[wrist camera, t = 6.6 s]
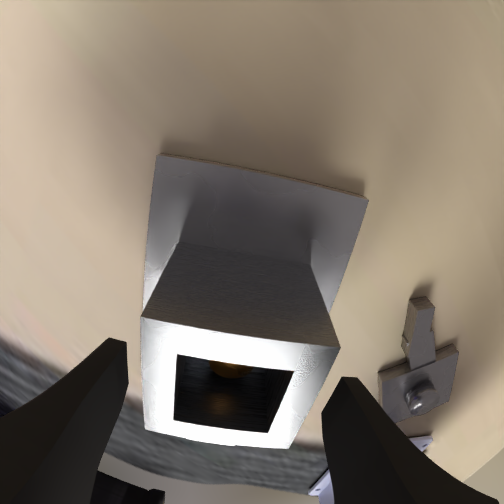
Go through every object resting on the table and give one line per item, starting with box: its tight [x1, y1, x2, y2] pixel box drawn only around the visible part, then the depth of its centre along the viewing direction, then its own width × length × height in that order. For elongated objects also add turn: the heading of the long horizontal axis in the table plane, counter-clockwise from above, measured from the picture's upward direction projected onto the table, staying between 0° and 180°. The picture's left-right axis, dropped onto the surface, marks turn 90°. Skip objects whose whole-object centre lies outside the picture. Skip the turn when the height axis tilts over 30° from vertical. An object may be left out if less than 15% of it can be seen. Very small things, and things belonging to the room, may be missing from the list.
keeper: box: [143, 153, 369, 446], centre depth 12 cm, size 12×8×4 cm, turn 168°
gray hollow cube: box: [140, 242, 341, 449], centre depth 11 cm, size 5×5×5 cm
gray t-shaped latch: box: [378, 297, 459, 423], centre depth 15 cm, size 10×5×2 cm, turn 17°
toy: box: [90, 470, 165, 504], centre depth 20 cm, size 19×7×30 cm
